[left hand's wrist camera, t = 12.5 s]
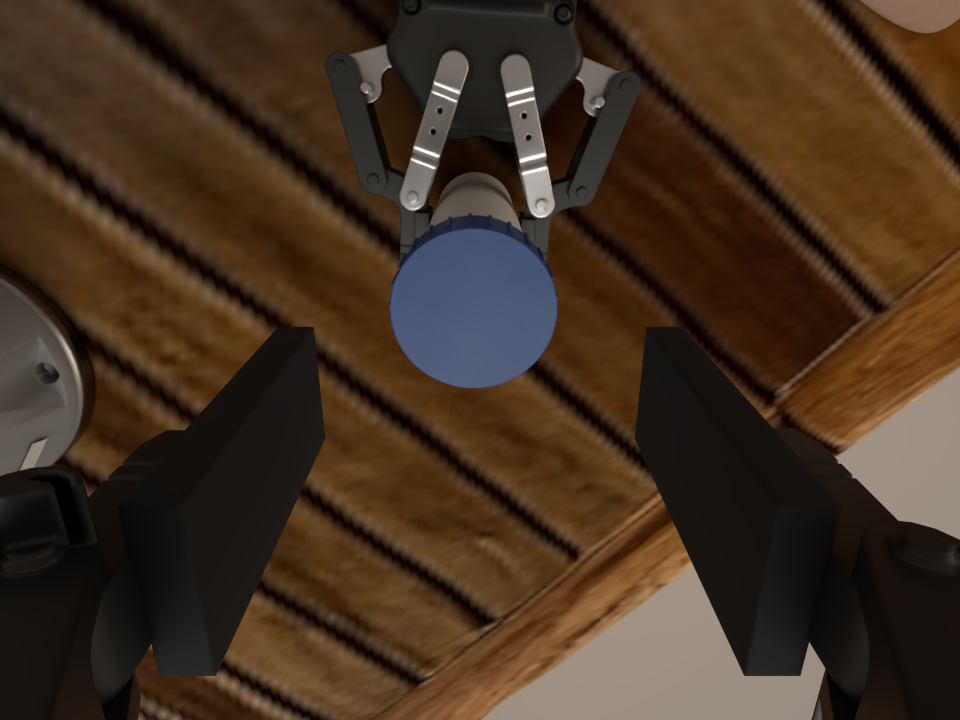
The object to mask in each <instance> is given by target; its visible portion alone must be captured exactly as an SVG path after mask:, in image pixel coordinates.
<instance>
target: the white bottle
mask: <svg viewBox="0 0 960 720" xmlns="http://www.w3.org/2000/svg"><path fill="white" fill-rule="evenodd" d="M468 213H472V215H480V216H488V215H492V218H496V219H499V220H502V221H504V222H508V221H510V222H511V223H512V226H514V227H516V228H517V229H519V230H520V231H521V232H522V229H521V227H520V224H519V221H518V218H517V215H516V212H515V210H514V207H513V204H512V201H511V198H510V196H509V193H508V192H507V190H506V188H505V187H504V186H503V184H502V183H501V182H500V181H498V180H497V179H496V178H494V177H492V176H490V175H488V174H485V173H480V172H470V173H465V174H462V175H460V176H458V177H456V178H454V179H453V180H452V181H451V182H449V184H448V185H447V186H446V187H445V188H444V190H443V192H442V194H441V196H440V199H439V201H438V204H437V206H436V209H435V212H434V214H433V217H432V219H431V222H430V225H432V224H433V226H435V225H437V224H439V223H441V222H443V221H446V220H447V219H448V217H450V216H451V217H452V218H455V217H459V216H467V215H468ZM430 225H429V227H430ZM429 227H428V229H429ZM522 233H523V232H522Z"/></svg>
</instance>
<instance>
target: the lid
mask: <svg viewBox="0 0 960 720" xmlns="http://www.w3.org/2000/svg"><path fill="white" fill-rule="evenodd" d="M545 261H546V260H545V258H544V256H543V253H542V251H541V249H540V247H537V248H536V246H535V245H534V243H533V242H532V241H531V240H530V238H529V236H528V234H527V233H526V232H525V233H522V232H521V231H520V230H519V229H517V228H516V227H514V226H512V223H511V222H510V221H508V222H504V221H502V220H499V219H496V218H492V215H488V216H480V215H472V213H468V215H467V216H459V217H455V218H452V217H451V216H450V217H448V219H447V220H446V221H443V222H441V223H439V224H437V225H435V226H433V224H432V225H430V227H429V229H428V230H427V231H426V232H425V233H424V234H422V235H421V236H420V237H419V238H417V237H416V238H415V239H414V241H413V243H412V246H411V248H410V250H409V251H408V253H407V254H406V253H404V255H403V257H402V259H401V261H400V263H399V265H398V268H399V271H397V273H396V275H395V277H394V279H393V281H392V283H391V287H392V292H391V296H390V303H389V308H390V319H391V324H392V328H393V331H394V334H395V337H396V339H397V341H398V343H399V345H400V347H401V349H402V350H403V352H404V353H405V355H406V356H407V357H408V358H409V359H410V360H411V362H412V363H413V364H414V365H415V366H417V367H418V368H419V369H420V370H421V371H423V372H424V373H426V374H427V375H429V376H430V377H432V378H434V379H436V380H438V381H441V382H443V383H446V384H449V385H453V386H457V387H464V388H483V387H490V386H495V385H499V384H502V383H504V382H507V381H509V380H511V379H513V378H515V377H517V376H519V375H520V374H522V373H523V372H525V371H526V370H527V369H529V368H530V367H531V366H532V365H533V364H534V363H535V362H536V361H537V360H538V359H539V357H540V356H541V355H542V354H543V352H544V351H545V349H546V348H547V346H548V344H549V342H550V340H551V338H552V335H553V332H554V329H555V325H556V320H557V300H558V296H557V293H556V291H555V287H554V284H553V280H555V279H554V276H553V274H552V272H551V270H550V267H549V265H548V264H545Z"/></svg>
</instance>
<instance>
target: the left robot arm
mask: <svg viewBox="0 0 960 720" xmlns="http://www.w3.org/2000/svg"><path fill="white" fill-rule="evenodd" d="M93 402H94V383H93V376H92V371H91V366H90V363H89V360H88V357H87V354H86V352H85V349H84V347H83V345H82V343H81V341H80V339H79V337H78V335H77V333H76V332H75V330H74V329H73V327H72V326H71V324H70V323H69V321H68V320H67V319H66V317H65V316H64V315H63V314H62V312H61V311H60V310H59V309H58V308H57V307H56V306H55V305H54V303H53V302H52V301H51V300H49V299H48V298H47V297H46V296H45V295H44V294H43V293H42V292H41V291H40V290H38V289H37V288H36V287H35V286H33V285H32V284H31V283H29V282H28V281H27V280H25V279H24V278H22V277H21V276H19V275H18V274H16V273H14V272H12V271H11V270H9V269H7V268H5V267H3V266H1V265H0V720H138V715H139V708H140V700H141V696H140V689H139V684H138V680H137V676H136V673H135V670H136V668H137V667H138V665H139V664H140V662H141V660H142V659H143V657H144V655H145V654H146V652H147V650H148V649H149V647H150V645H151V644H152V648H153V652H154V656H155V659H156V663H157V667H158V671H159V675H160V676H216V674H217V672H218V670H219V667H220V665H221V663H222V661H223V659H224V657H225V654H226V652H227V650H228V648H229V646H230V644H231V642H232V639H233V637H234V635H235V633H236V631H237V629H238V626H239V624H240V622H241V620H242V618H243V616H244V613H245V611H246V609H247V607H248V605H249V603H250V600H251V598H252V596H253V594H254V592H255V590H256V587H257V585H258V583H259V581H260V579H261V577H262V574H263V572H264V570H265V568H266V566H267V564H268V561H269V559H270V557H271V555H272V553H273V551H274V548H275V546H276V544H277V542H278V540H279V538H280V535H281V533H282V531H283V529H284V527H285V525H286V522H287V520H288V518H289V516H290V514H291V512H292V509H293V507H294V505H295V503H296V501H297V499H298V496H299V494H300V492H301V490H302V488H303V486H304V483H305V481H306V479H307V477H308V475H309V473H310V470H311V468H312V466H313V464H314V462H315V460H316V457H317V455H318V453H319V451H320V449H321V447H322V444H323V442H324V440H325V432H324V423H323V413H322V403H321V394H320V384H319V374H318V365H317V355H316V345H315V335H314V327H278V328H277V329H276V330H275V331H274V332H273V333H272V335H271V336H270V337H269V338H268V339H267V340H266V341H265V342H264V343H263V345H262V346H261V347H260V348H259V349H258V350H257V351H256V352H255V353H254V354H253V356H252V357H251V358H250V359H249V360H248V361H247V362H246V363H245V364H244V366H243V367H242V368H241V369H240V370H239V371H238V372H237V373H236V374H235V376H234V377H233V378H232V379H231V380H230V381H229V382H228V383H227V384H226V386H225V387H224V388H223V389H222V390H221V391H220V392H219V393H218V394H217V395H216V397H215V398H214V399H213V400H212V401H211V402H210V403H209V404H208V405H207V407H206V408H205V409H204V410H203V411H202V412H201V413H200V414H199V415H198V417H197V418H196V419H195V420H194V421H193V422H192V423H191V424H190V425H189V427H188V428H187V429H186V430H167V431H165V432H163V433H161V434H159V435H158V436H156V437H154V438H152V439H150V440H149V441H147V442H145V443H143V444H141V445H140V446H139V447H138V448H137V449H136V450H135V451H134V452H133V453H132V454H131V455H130V456H129V457H128V458H127V459H126V460H125V461H124V462H123V466H119V467H118V468H117V469H116V470H115V471H114V472H113V473H112V474H111V475H110V476H109V477H108V478H109V479H108V481H104V482H103V483H102V484H101V485H100V486H99V487H98V488H97V489H96V490H95V491H94V492H93V493H92V494H91V495H90V496H89V497H88V496H87V492H86V489H85V485H84V481H83V478H82V475H81V474H80V473H78V472H77V471H75V470H74V469H72V468H66V467H59V466H51V465H52V464H53V463H55V462H56V461H57V460H58V459H59V458H61V457H62V456H63V455H64V454H65V453H66V452H68V451H69V450H70V449H71V448H72V447H73V446H74V445H75V444H76V443H77V441H78V440H79V439H80V437H81V436H82V434H83V433H84V431H85V429H86V427H87V425H88V422H89V420H90V417H91V413H92V409H93ZM635 440H636V442H637V444H638V447H639V449H640V451H641V453H642V455H643V457H644V460H645V462H646V464H647V466H648V468H649V470H650V473H651V475H652V477H653V479H654V481H655V483H656V486H657V488H658V490H659V492H660V494H661V496H662V499H663V501H664V503H665V505H666V507H667V509H668V512H669V514H670V516H671V518H672V520H673V522H674V525H675V527H676V529H677V531H678V533H679V535H680V538H681V540H682V542H683V544H684V546H685V548H686V551H687V553H688V555H689V557H690V559H691V561H692V564H693V566H694V568H695V570H696V572H697V574H698V576H699V579H700V581H701V583H702V585H703V587H704V590H705V592H706V594H707V596H708V598H709V600H710V602H711V605H712V607H713V609H714V611H715V613H716V616H717V618H718V620H719V622H720V624H721V626H722V629H723V631H724V633H725V635H726V637H727V639H728V642H729V644H730V646H731V648H732V650H733V652H734V654H735V657H736V659H737V661H738V663H739V665H740V667H741V670H742V672H743V674H744V676H800V675H801V671H802V667H803V663H804V659H805V656H806V652H807V648H808V644H809V642H810V644H811V645H812V647H813V649H814V650H815V652H816V653H817V655H818V657H819V658H820V660H821V662H822V663H823V665H824V667H825V668H826V669H825V673H824V676H823V680H822V684H821V687H820V691H819V695H818V698H817V702H816V706H815V709H814V713H813V717H812V720H960V540H959V539H957V538H955V537H953V536H950V535H948V534H946V533H944V532H941V531H939V530H937V529H934V528H931V527H927V526H923V525H920V524H916V523H912V522H903V521H898V520H897V519H896V518H895V517H894V516H893V515H892V514H891V513H890V512H889V511H888V510H887V509H886V508H885V507H884V506H883V505H882V504H881V503H880V502H879V501H878V500H877V499H876V498H875V497H874V496H873V495H872V494H871V493H870V492H869V491H868V490H867V489H866V488H865V487H864V486H863V485H862V484H861V483H860V482H859V481H858V480H857V479H855V478H852V474H851V473H850V472H849V471H848V470H847V469H846V468H845V467H844V466H843V465H842V464H838V460H837V459H836V458H835V457H834V456H833V455H832V454H831V453H830V452H829V451H828V450H827V449H826V448H825V447H824V446H823V445H822V444H821V443H819V442H818V441H816V440H814V439H812V438H810V437H809V436H807V435H805V434H803V433H801V432H800V431H798V430H796V429H794V428H772V427H771V425H770V424H769V423H768V422H767V421H766V420H765V419H764V418H763V417H762V415H761V414H760V413H759V412H758V411H757V410H756V409H755V408H754V407H753V405H752V404H751V403H750V402H749V401H748V400H747V399H746V398H745V397H744V395H743V394H742V393H741V392H740V391H739V390H738V389H737V388H736V387H735V386H734V384H733V383H732V382H731V381H730V380H729V379H728V378H727V377H726V376H725V374H724V373H723V372H722V371H721V370H720V369H719V368H718V367H717V366H716V364H715V363H714V362H713V361H712V360H711V359H710V358H709V357H708V356H707V354H706V353H705V352H704V351H703V350H702V349H701V348H700V347H699V346H698V345H697V343H696V342H695V341H694V340H693V339H692V338H691V337H690V336H689V335H688V333H687V332H686V331H685V330H684V329H683V328H682V327H646V335H645V345H644V355H643V365H642V374H641V384H640V394H639V403H638V413H637V423H636V432H635Z"/></svg>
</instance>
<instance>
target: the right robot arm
mask: <svg viewBox="0 0 960 720" xmlns="http://www.w3.org/2000/svg"><path fill="white" fill-rule="evenodd" d="M576 5H577V0H399V8H398V14H397V18H396V21H395V23H394V26H393V28H392V30H391V31H390V33H389V35H388V38H387V43H386V45H382V46H379V47H375V48H371V49H368V50H364V51H360V52H357V53H353V54H346V53H344V52H334V53H332V54H331V55H330V56H329V57H328V58H327V61H326V71H327V74H328V78H329V81H330V84H331V88H332V91H333V94H334V98H335V101H336V104H337V107H338V111H339V114H340V117H341V121H342V124H343V127H344V131H345V134H346V137H347V140H348V144H349V147H350V150H351V154H352V157H353V160H354V163H355V167H356V170H357V173H358V177H359V180H360V183H361V186H362V187H363V189H364V190H365V191H367V192H368V193H371V194H378V195H380V196H383V197H385V198H387V199H390V200H391V201H393V202H394V203H395V204H396V205H397V206H398V208H399V210H400V216H401V221H400V261H401V259H402V257H403V255H404V253H406V254H407V253H408V251H409V250H410V248H411V246H412V243H413V241H414V239H415V238H416V237H417V238H419V237H420V236H421V235H422V234H424V233H425V232H426V231H427V230H428V227H429V225H430V222H431V219H432V215H433V206H429V193H430V190H431V187H432V184H433V181H434V178H435V175H436V172H437V169H438V166H439V163H440V160H441V157H442V155H443V152H444V149H445V146H446V143H447V140H448V138H451V139H466V138H470V137H475V136H484V137H487V138H490V139H493V140H496V141H501V142H512V144H513V149H514V153H515V158H516V162H517V166H518V170H519V175H520V180H521V184H522V189H523V194H524V207H523V212H519V216H518V221H519V224H520V227H521V229H522V232H523V233H525V232H526V233H527V234H528V236H529V238H530V240H531V241H532V242H533V243H534V245H535V246H536V248H537V247H540V249H541V251H542V253H543V256H544V258H545V260H546V261H547V251H548V241H549V230H550V222H551V220H552V218H553V216H554V215H555V214H556V213H557V212H559V211H561V210H563V209H567V208H570V207H573V206H586V205H588V204H589V203H590V202H591V201H592V200H593V198H594V196H595V194H596V191H597V189H598V186H599V184H600V182H601V179H602V177H603V175H604V172H605V170H606V168H607V165H608V163H609V161H610V158H611V156H612V153H613V151H614V149H615V146H616V144H617V142H618V139H619V137H620V135H621V132H622V130H623V127H624V125H625V123H626V120H627V118H628V116H629V113H630V111H631V109H632V106H633V104H634V101H635V99H636V97H637V94H638V92H639V89H640V80H639V78H638V76H637V75H636V74H635V73H634V72H632V71H616V70H614V69H611V68H609V67H606V66H604V65H602V64H599V63H597V62H594V61H592V60H590V59H587V58H585V57H583V49H582V45H581V43H580V40H579V38H578V34H577V30H576V23H575V17H576ZM391 69H394V71H395V73H396V74H397V76H398V77H399V79H400V80H401V82H402V84H403V85H404V87H405V88H406V90H407V92H408V93H409V95H410V96H411V98H412V100H413V101H414V103H415V104H416V106H417V107H418V109H419V111H420V112H421V114H422V115H423V119H422V122H421V125H420V128H419V131H418V135H417V138H416V141H415V144H414V147H413V151H412V156H411V160H410V163H409V166H408V169H407V172H406V173H404V172H402V171H399V170H397V169H395V168H392V167H391V164H390V160H389V157H388V153H387V150H386V146H385V143H384V139H383V136H382V132H381V129H380V125H379V122H378V118H377V114H376V111H375V107H374V104H373V103H374V102H377V101H379V100H380V99H381V98H382V96H383V94H384V78H385V75H386V74H387V72H388V71H389V70H391ZM574 80H575V81H577V82H578V84H579V85H580V87H581V91H582V95H581V99H580V106H581V109H582V111H583V112H584V113H585V114H587V115H589V118H588V121H587V123H586V126H585V128H584V131H583V133H582V136H581V138H580V141H579V143H578V146H577V148H576V151H575V153H574V156H573V158H572V161H571V163H570V166H569V168H568V171H567V173H566V176H565V177H564V178H561V179H557V180H554V181H551V182H550V177H549V172H548V166H547V157H546V151H545V146H544V141H543V136H542V131H541V126H540V122H541V121H542V120H543V119H544V117H545V116H546V115H547V114H548V112H549V111H550V110H551V109H552V107H553V106H554V105H555V104H556V102H557V101H558V100H559V99H560V97H561V96H562V95H563V94H564V92H565V91H566V90H567V89H568V87H569V86H570V85H571V83H572V82H573V81H574ZM546 261H545V264H546Z"/></svg>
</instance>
